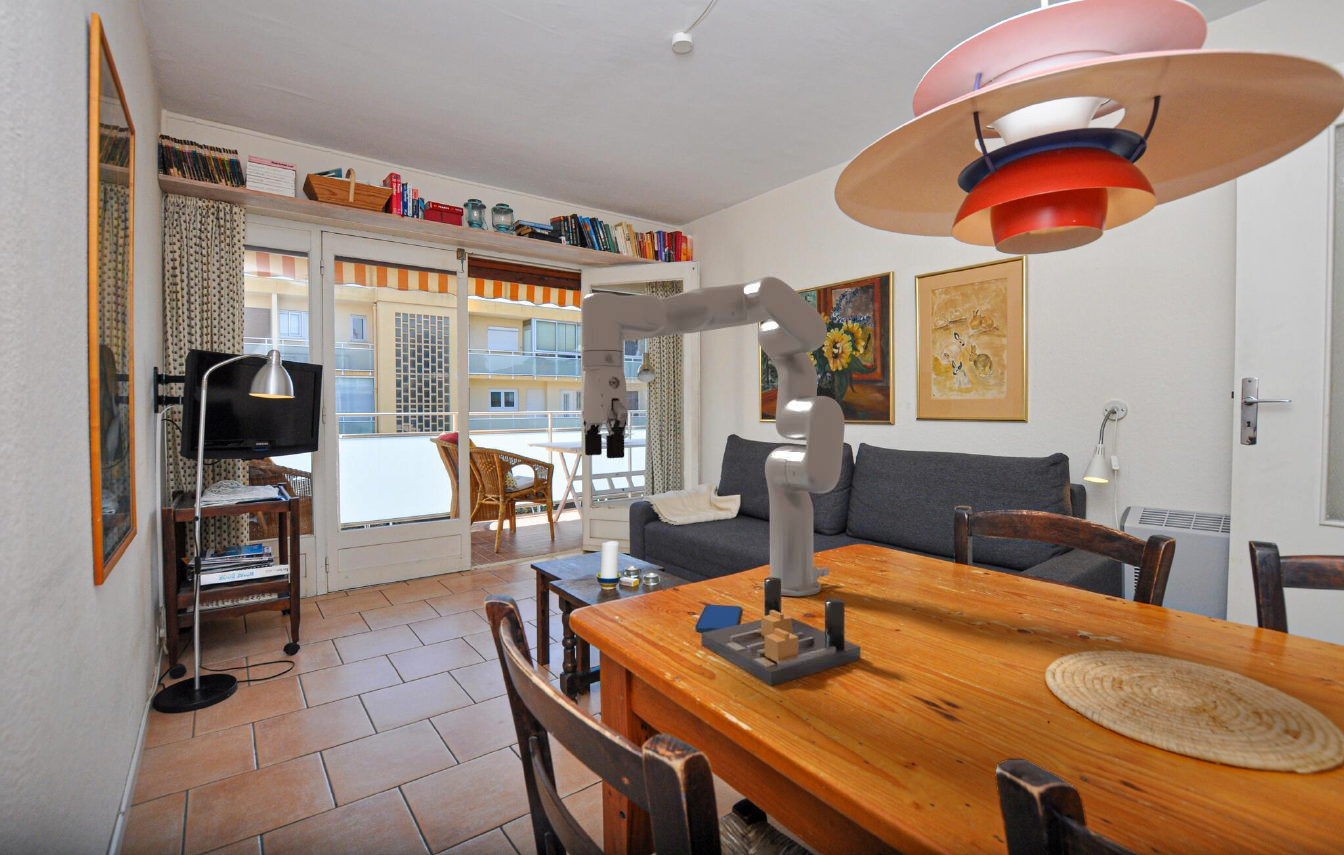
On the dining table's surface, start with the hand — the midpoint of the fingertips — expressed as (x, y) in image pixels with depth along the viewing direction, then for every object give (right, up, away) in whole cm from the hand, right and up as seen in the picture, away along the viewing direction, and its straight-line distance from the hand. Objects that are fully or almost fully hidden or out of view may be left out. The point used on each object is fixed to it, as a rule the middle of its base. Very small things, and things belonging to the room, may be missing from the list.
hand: (604, 456), depth 110 cm
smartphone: (+21, -32, +4) cm, 38 cm away
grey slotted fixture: (+30, -31, -12) cm, 45 cm away
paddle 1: (+30, -29, -11) cm, 43 cm away
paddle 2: (+29, -29, -20) cm, 45 cm away
